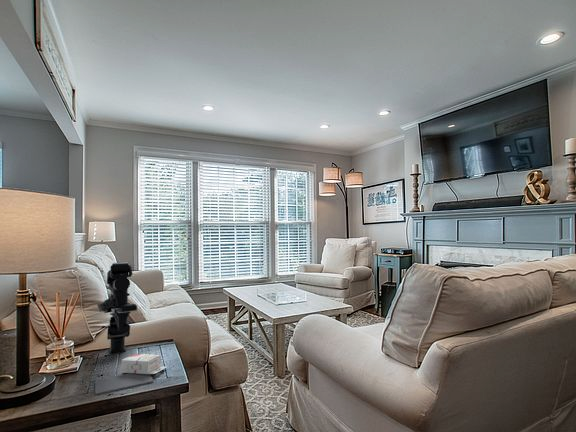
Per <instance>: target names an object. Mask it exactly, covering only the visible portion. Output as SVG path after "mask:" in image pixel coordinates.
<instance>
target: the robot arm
mask: <svg viewBox="0 0 576 432" xmlns="http://www.w3.org/2000/svg"><path fill="white" fill-rule="evenodd" d="M106 275H107V276H106V285H108V290H110V291H111V293H112V294H110V296H109V297H110V298H107V299H105V300H104V301H102V302H99V303H97V304H96V305H97V308H98V310H99V312H100V313H101V312H104V314H108V313H109V315H110V319H109V325H107V331H106V337H107V338H106V339H107V340H110V345H109V346H110V348H109V349H108V352H109V354H110V355H112V354H119V353H125V352H127V349H126V346H125V345H126V344H125V343H126V339H125V338H128V337H129V336H130V335H131V333H130V332H131V325H130V324H129V322H128V317H129V315H130V314H131V313H132V312H134V311H135V312H136V311H138V305H137V304H136V303H130V302H129V303H128V299H129V297H128V296H131V294H130V293H129V292H128V291H129V288H130V285H131V281H130V279H129V278H131V277H132V276H133V268H132V265H131V264H130V263H129V262H128V261H124V262H123V261H122V262H112V264H111V265H110V269H109V270H108V272H107V274H106Z"/></svg>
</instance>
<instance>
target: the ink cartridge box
mask: <svg viewBox="0 0 576 432" xmlns="http://www.w3.org/2000/svg"><path fill="white" fill-rule="evenodd" d="M120 361H121V363H120V364H121V367H120V368H121V373H122V374H129V373H136V374H151V375H154V374H157V373H159V372H161V371H163V370H165V369H166V368H168V366H162V354H151V353H150V354H147V353H135V354H132V355H130V356H127V357H125V358H122V359H121V360H120Z"/></svg>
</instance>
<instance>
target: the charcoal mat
mask: <svg viewBox="0 0 576 432" xmlns="http://www.w3.org/2000/svg"><path fill="white" fill-rule="evenodd" d="M152 383H154V379H153V377H152V374H136V373H123V374H120V375H115V376H110V377H105V378H100V379H96V380H95V381H94V390H95V391H94V392H95V393H94V395H95V396H96V395H101V394H106V393H112V392H115V391H118V390H120V391H121V390H125V389H129V388H134V387H138V386H143V385H147V384H152Z"/></svg>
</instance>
